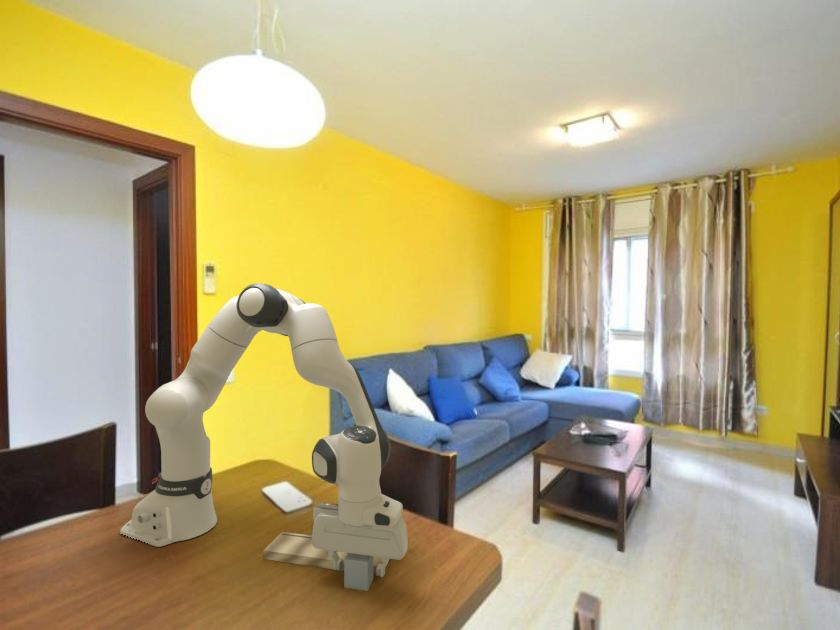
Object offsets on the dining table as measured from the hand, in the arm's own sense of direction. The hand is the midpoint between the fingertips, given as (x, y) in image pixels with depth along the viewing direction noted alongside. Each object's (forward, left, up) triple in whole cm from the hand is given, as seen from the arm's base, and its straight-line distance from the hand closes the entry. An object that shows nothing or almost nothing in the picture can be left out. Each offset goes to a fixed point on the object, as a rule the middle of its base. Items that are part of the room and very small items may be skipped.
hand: (359, 571), depth 88 cm
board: (-10, +7, -2) cm, 12 cm away
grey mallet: (0, +4, -2) cm, 5 cm away
